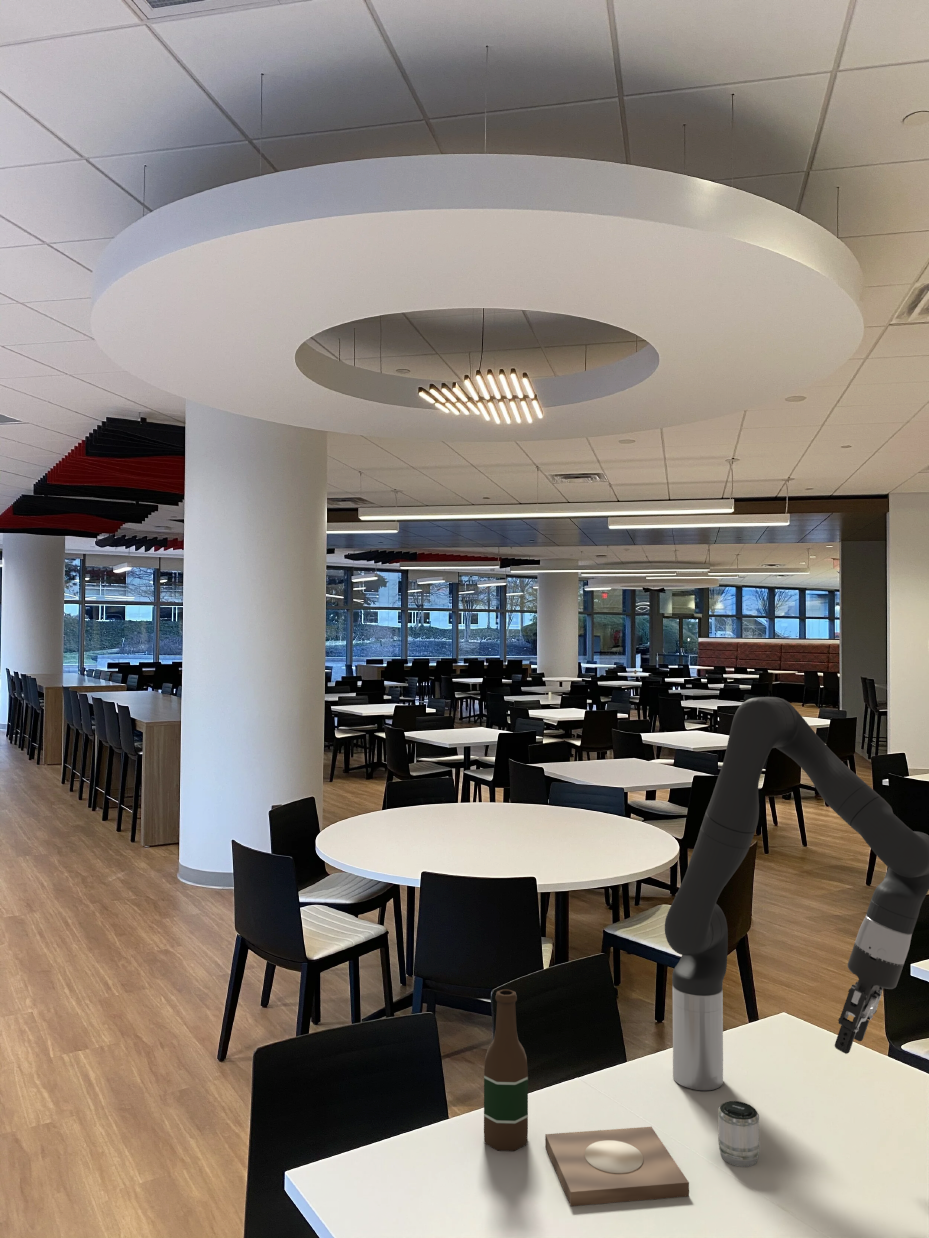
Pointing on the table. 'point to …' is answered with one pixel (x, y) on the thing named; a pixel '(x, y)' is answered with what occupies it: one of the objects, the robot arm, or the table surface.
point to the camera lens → (738, 1133)
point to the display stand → (615, 1166)
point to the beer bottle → (505, 1081)
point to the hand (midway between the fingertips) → (848, 1044)
